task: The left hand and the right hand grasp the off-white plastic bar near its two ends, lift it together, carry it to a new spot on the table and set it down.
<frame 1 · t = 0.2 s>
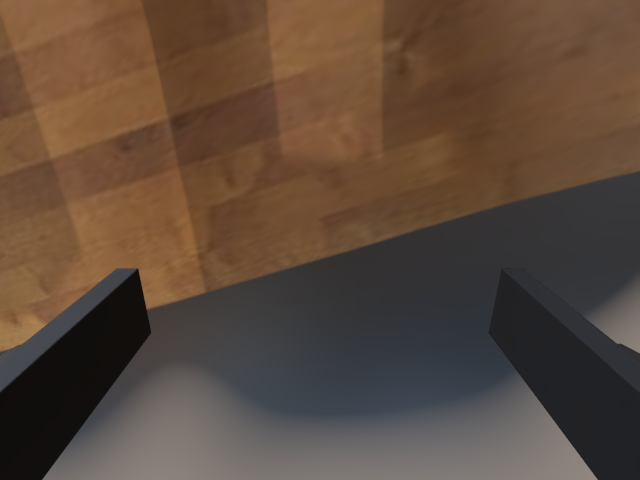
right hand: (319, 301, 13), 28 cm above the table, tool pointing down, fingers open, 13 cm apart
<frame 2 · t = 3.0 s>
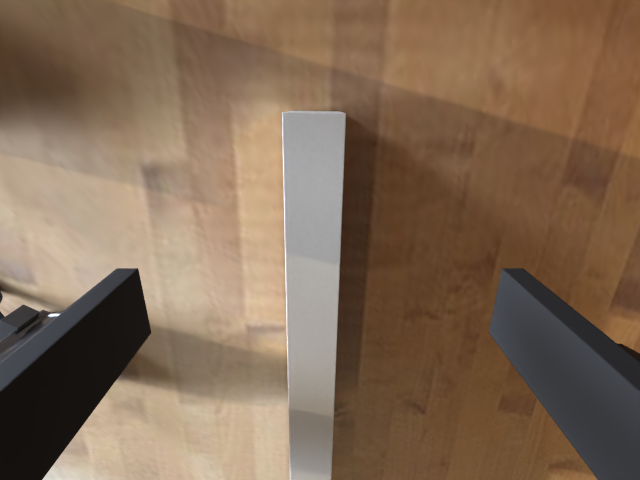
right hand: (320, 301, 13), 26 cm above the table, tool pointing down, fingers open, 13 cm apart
bar: (313, 332, 44), on the table
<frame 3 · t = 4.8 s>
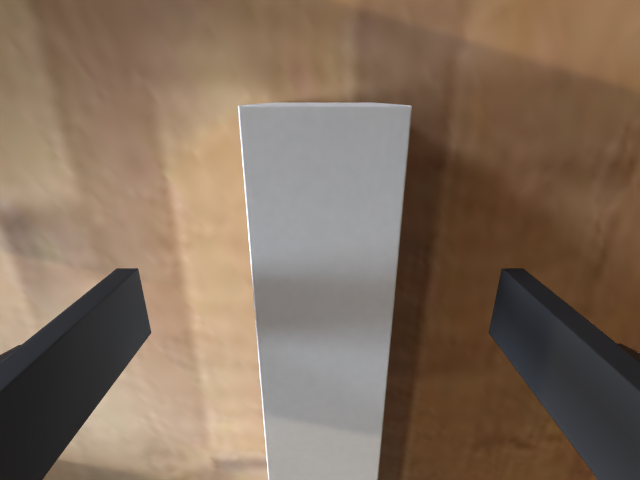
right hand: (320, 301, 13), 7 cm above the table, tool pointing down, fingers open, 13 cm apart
bar: (322, 467, 27), on the table
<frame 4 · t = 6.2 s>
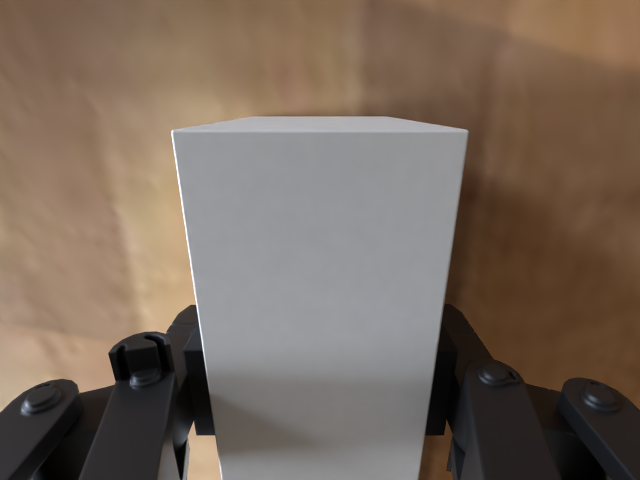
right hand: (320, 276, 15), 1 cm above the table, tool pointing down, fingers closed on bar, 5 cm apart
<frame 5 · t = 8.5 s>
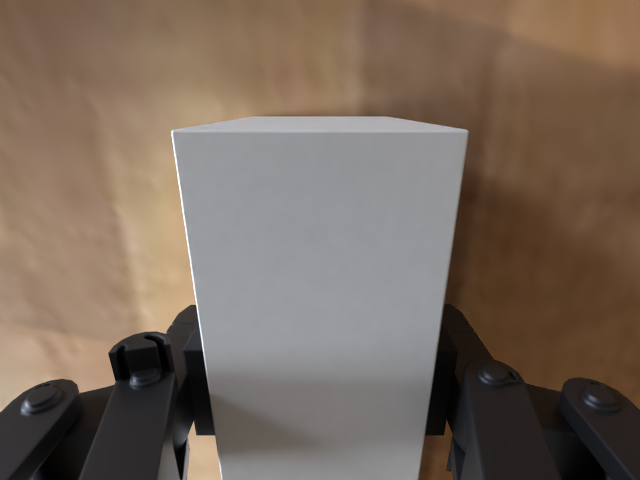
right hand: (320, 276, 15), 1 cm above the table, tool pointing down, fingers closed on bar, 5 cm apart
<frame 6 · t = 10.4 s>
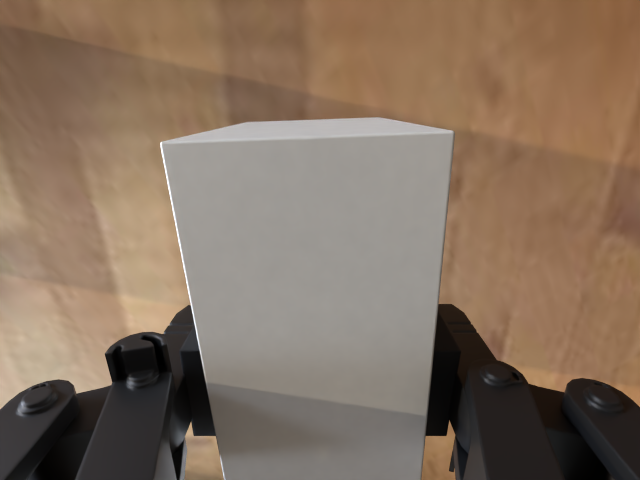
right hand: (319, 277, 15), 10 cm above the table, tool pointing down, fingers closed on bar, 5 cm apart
when the right hand's fingers open (2 cm above the table, at t = 12.5 s): bar drops 1 cm, on the table.
when the left hand's fingers open (4 cm above the table, at t = 12.6 s): bar stays where it is, on the table.
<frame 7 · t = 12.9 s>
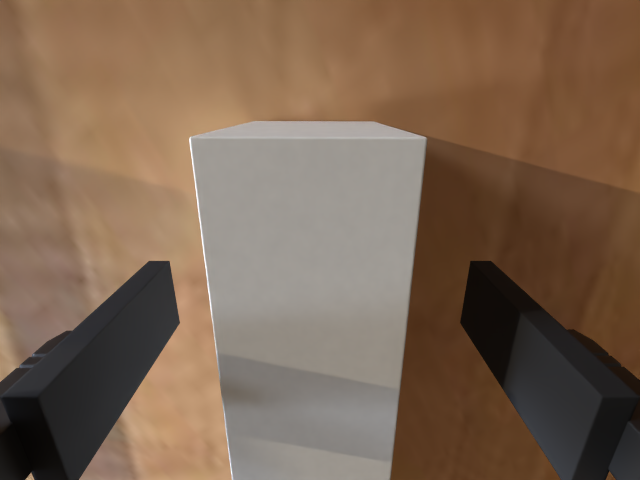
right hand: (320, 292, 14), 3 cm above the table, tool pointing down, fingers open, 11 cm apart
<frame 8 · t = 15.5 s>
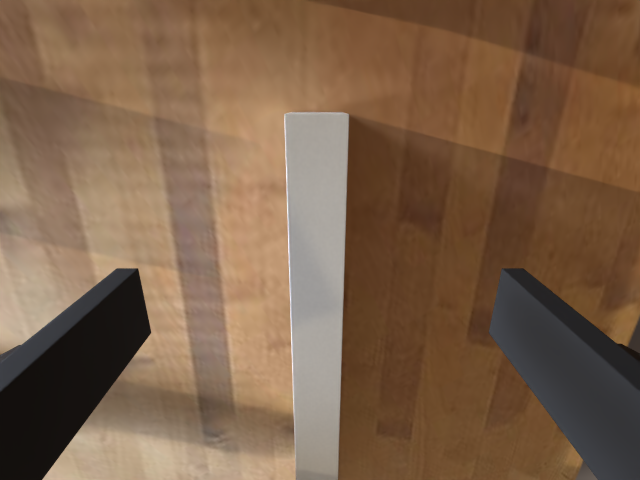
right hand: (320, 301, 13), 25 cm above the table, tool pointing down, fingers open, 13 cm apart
bar: (317, 335, 44), on the table
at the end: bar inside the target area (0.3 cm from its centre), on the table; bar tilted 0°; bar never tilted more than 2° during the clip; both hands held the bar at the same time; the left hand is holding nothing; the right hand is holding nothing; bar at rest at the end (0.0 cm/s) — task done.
